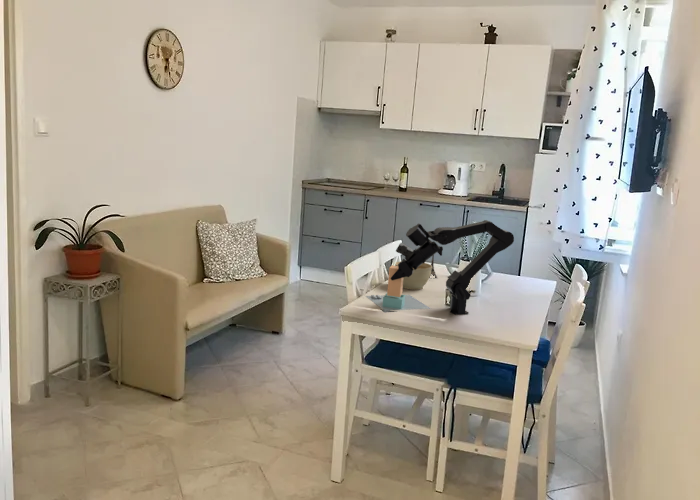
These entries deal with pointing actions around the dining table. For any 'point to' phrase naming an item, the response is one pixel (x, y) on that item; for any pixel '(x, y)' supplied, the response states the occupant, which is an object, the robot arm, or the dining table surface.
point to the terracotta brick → (394, 283)
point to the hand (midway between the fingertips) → (392, 277)
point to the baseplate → (406, 307)
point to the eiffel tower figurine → (433, 267)
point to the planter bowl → (417, 277)
